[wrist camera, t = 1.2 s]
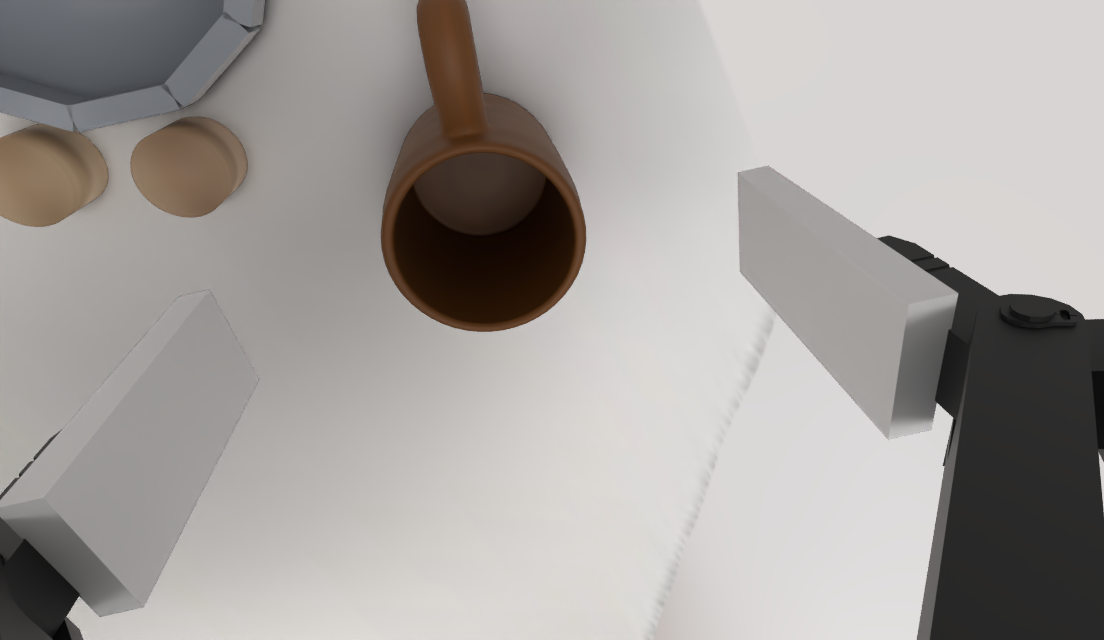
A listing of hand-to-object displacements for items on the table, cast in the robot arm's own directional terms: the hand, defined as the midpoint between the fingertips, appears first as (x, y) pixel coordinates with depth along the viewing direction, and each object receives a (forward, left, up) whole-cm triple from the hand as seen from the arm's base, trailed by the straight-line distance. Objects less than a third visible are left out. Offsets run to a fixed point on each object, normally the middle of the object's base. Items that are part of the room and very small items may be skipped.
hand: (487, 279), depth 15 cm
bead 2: (-12, +2, -16) cm, 20 cm away
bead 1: (-18, +3, -16) cm, 24 cm away
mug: (0, 0, -16) cm, 16 cm away
